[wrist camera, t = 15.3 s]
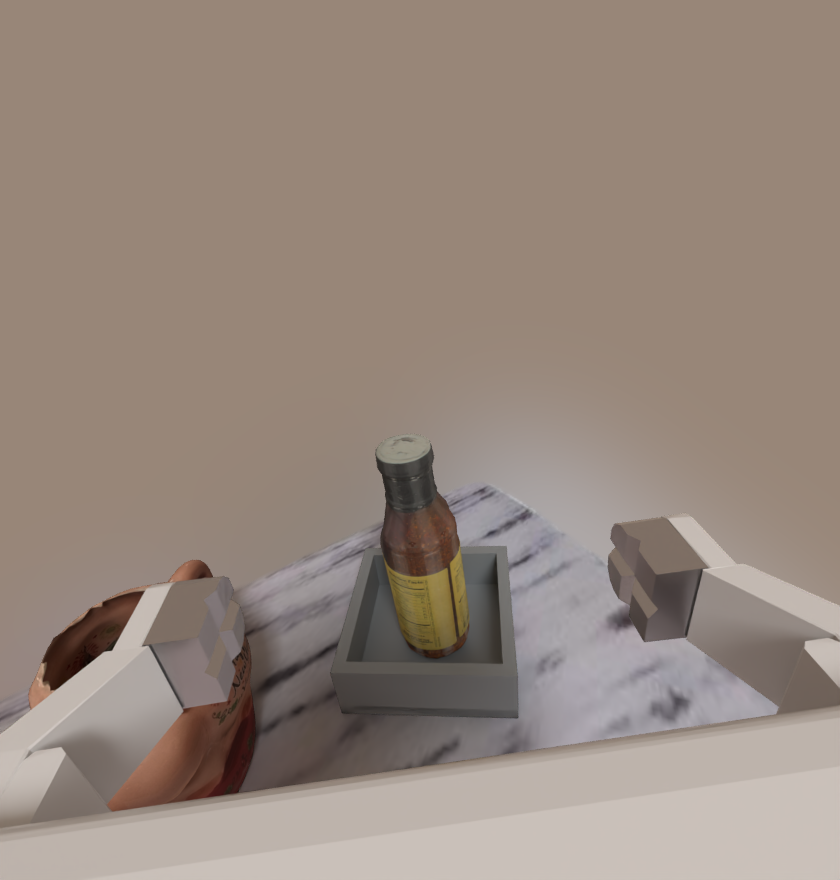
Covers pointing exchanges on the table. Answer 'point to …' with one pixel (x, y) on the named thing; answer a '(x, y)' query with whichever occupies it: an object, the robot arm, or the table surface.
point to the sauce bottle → (421, 550)
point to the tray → (427, 679)
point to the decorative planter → (190, 737)
